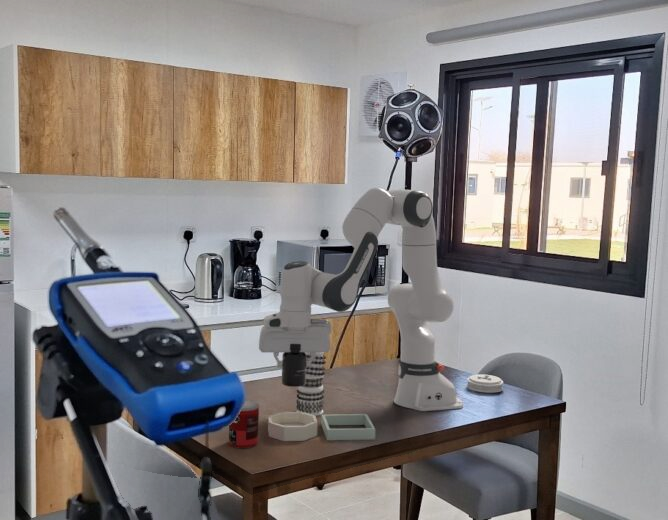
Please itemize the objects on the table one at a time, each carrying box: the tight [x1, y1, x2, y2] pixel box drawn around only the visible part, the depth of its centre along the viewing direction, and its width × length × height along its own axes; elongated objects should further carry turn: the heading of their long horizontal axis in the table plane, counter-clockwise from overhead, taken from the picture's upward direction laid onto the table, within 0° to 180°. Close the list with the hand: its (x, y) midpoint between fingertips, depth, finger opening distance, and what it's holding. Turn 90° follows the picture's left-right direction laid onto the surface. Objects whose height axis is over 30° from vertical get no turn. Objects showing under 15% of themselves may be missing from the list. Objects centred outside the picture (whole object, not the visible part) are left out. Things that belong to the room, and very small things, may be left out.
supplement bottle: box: [281, 344, 306, 388], centre depth 208 cm, size 7×7×12 cm
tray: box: [320, 413, 376, 441], centre depth 212 cm, size 14×14×3 cm
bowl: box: [267, 411, 318, 442], centre depth 210 cm, size 14×14×4 cm
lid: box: [466, 373, 504, 393], centre depth 261 cm, size 13×13×5 cm
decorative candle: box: [295, 352, 327, 417], centre depth 229 cm, size 9×9×25 cm
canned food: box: [228, 400, 260, 449], centre depth 200 cm, size 8×8×11 cm
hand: (294, 367), depth 208 cm, fingers closed on supplement bottle, 7 cm apart
